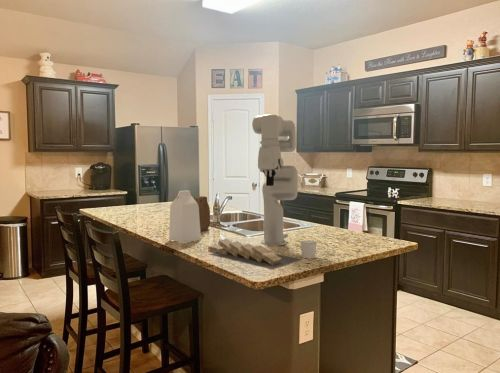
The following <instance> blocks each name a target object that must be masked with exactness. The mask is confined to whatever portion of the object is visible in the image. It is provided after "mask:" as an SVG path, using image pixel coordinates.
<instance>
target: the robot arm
mask: <svg viewBox="0 0 500 373" xmlns="http://www.w3.org/2000/svg"><path fill="white" fill-rule="evenodd" d="M251 125H252V130H253V133H255V134H258V135H261V138H260V139H261V141H259V143H260V147H259V150H258V156H257V157H258V158H257V168H258V169H259V172H261V173H263V174H264V176H265V182H264V183H263V184H262V186H261V187H262V188H261V190H262V198H263V239H262V240H261V241H260V243H261V244H262V245H264V246H277V247H279V246H284V245H286V244H287V241H286V240H285V239H286V238H287V239H288V237H289V234H288V233H284V208H283V206H282V204H281V203H280V202H279V201H293V200H296V199H297V197H298V193H299V189H298V188H299V185H298V184H299V183H298V182H299V180H298V178H299V176H298V170H297V167H296V166H293V165H284V160H283V158H282V153H292V152H295V150H296V146H297V137H296V134H297V131H296V124H295V122H294V121H293V120H291V119H284V118H283V117H282V116H280V115H277V114H272V113H271V114H270V113H269V114H263V115H257V116H255V117H253V119H252V124H251Z"/></svg>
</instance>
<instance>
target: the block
mask: <svg viewBox="0 0 500 373" xmlns="http://www.w3.org/2000/svg"><path fill="white" fill-rule="evenodd" d="M193 198H194V200H195V201H196V202H197V204H198V206H199V218H200V232H204V231H207V230H209V227H210V225H211V209H210V208H211V207H210V205H209V203H208V197H207V196H205V195H203V196H202V195H201V196H200V195H199V196H195V197H193Z"/></svg>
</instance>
